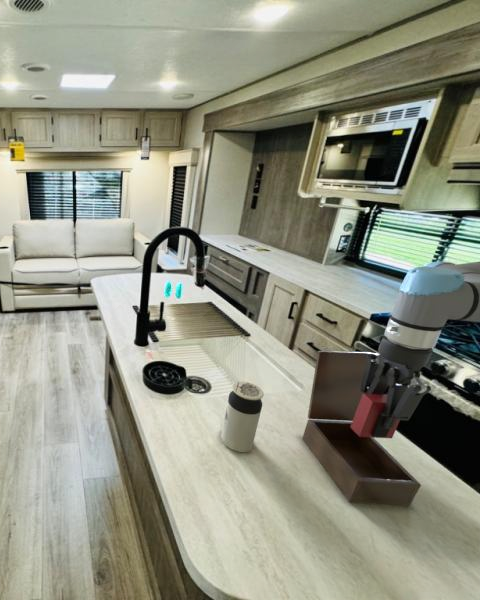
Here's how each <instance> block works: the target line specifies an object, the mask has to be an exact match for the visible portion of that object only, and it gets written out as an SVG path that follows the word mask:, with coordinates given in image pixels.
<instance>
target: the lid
mask: <svg viewBox="0 0 480 600" xmlns="http://www.w3.org/2000/svg"><path fill="white" fill-rule="evenodd" d="M368 353H371V352H370V351H340V350H339V351H338V350H337V351H335V350H332V351H331V350H317V354H316V355H317V356H316V361H315V368H314V374H313V380H312V388H311V393H310V399H309V400H310V401H309V406H308V412H307V418H308V420H327V421H349V422H353V419H354V416H355V413H356V411H357V408H358V405H359V403H360V400H361V397H362V395H363V394H365V393H364V392H361V391H360V387H361V383H362V379H363V375H364V372H365V368H366V364H367V354H368Z"/></svg>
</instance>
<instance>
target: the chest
mask: <svg viewBox="0 0 480 600" xmlns="http://www.w3.org/2000/svg"><path fill="white" fill-rule="evenodd" d="M352 422H353V421H342V420H321V419H307V422H306V425H305V427H304V431H303V434H302V441H303V442H304V443H305V445H306V446H307V447H308V449H309V450H310V451H311V453H312V454H313V456H314V457H315V458H316V459H317V461H318V463H319V464H320V465H321V466H322V468H323V470H324V471H325V472H326V473H327V474H328V476H329V477H330V479H331V480H332V482H333V483H334V484H335V485H336V487H337V489H339V491H340V492H341V494H342V495H343V496H344V498H345V499H346V500H347V502H348V503H356V504H370V505H381V506H382V505H383V506H398V507H399V506H400V507H411V504H412V503H413V501H414V499H415V498H416V495H417V493H418V492H419V490H420V488H421V486H422V484H421V483H420V482H419V480H417V479H416V478H415V477H414V476H413V475H412V474H411V473H410V472H409V471H408V470H407V469H406V468H405V467H404V466H403V465H402V464H401V463H400V461H398V460H397V459H396V458H394V456H393V455H392V454H391V453H390V452H389V451H388V450H387V449H386V448H384V446H383V445H381V443H380V442H379V441H378V440H377V439H376V438H374V437H359V436H358V435H357V434H356V433H355V432H354V431H353V430H352V429H351V424H352Z"/></svg>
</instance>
